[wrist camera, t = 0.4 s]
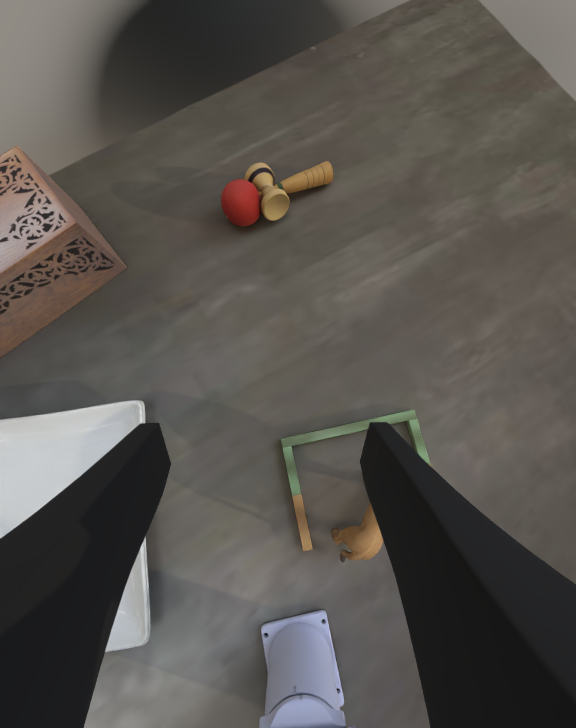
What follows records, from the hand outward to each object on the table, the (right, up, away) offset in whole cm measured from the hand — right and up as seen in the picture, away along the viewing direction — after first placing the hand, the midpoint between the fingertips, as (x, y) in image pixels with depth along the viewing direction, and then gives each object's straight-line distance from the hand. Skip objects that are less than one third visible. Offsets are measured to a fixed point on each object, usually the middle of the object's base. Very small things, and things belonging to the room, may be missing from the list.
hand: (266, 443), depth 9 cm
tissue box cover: (-39, +15, +32) cm, 52 cm away
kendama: (-1, +29, +34) cm, 45 cm away
